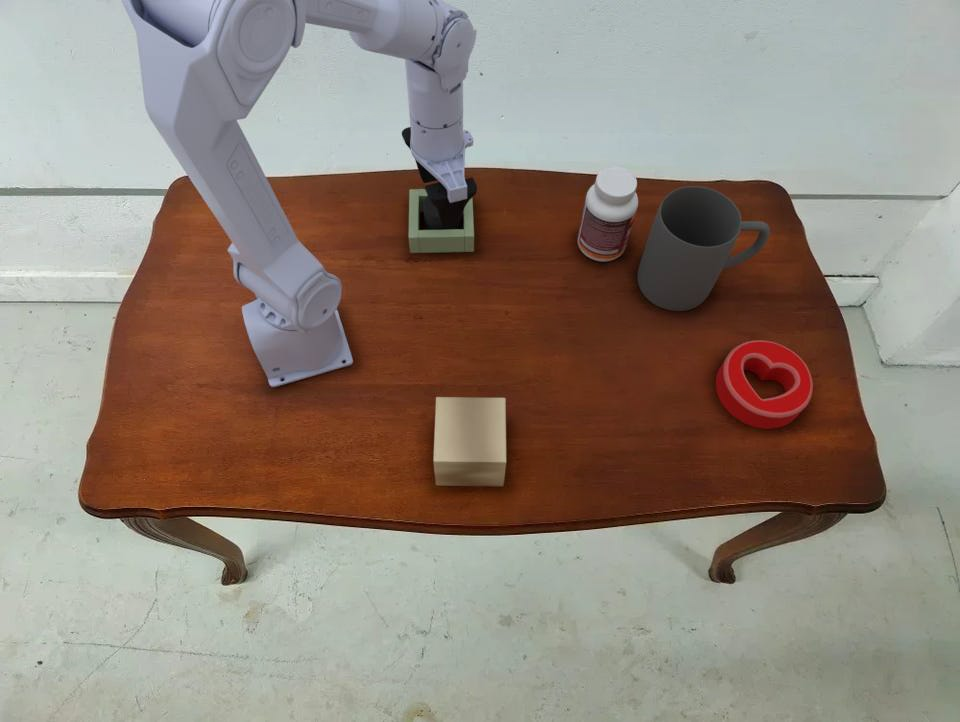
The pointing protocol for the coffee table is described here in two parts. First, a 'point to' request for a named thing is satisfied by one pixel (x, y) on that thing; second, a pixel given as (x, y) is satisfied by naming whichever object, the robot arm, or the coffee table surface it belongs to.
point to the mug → (693, 247)
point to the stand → (470, 441)
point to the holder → (438, 238)
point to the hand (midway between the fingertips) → (440, 201)
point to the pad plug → (434, 217)
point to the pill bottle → (608, 214)
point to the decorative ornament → (767, 365)
